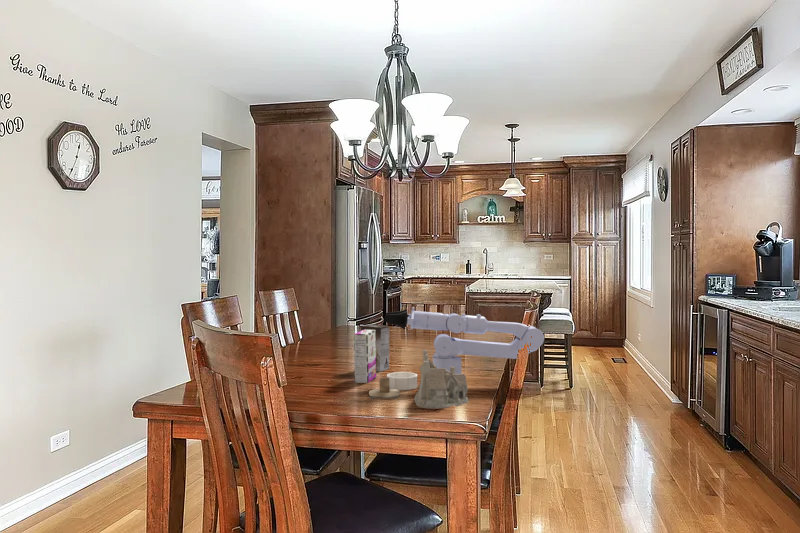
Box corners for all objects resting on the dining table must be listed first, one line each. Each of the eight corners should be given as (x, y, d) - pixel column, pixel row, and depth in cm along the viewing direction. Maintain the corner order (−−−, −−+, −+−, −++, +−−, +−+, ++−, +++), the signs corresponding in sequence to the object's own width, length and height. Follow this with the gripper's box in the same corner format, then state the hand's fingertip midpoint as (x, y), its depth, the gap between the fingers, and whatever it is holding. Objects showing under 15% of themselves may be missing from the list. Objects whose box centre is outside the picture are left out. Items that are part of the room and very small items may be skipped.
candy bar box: (362, 376, 207) (362, 329, 206) (376, 377, 206) (376, 329, 205) (353, 383, 196) (353, 333, 195) (368, 384, 195) (368, 333, 194)
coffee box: (359, 369, 220) (359, 325, 220) (369, 366, 226) (369, 324, 225) (380, 371, 215) (380, 327, 215) (390, 369, 221) (390, 325, 220)
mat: (398, 392, 183) (398, 390, 183) (397, 399, 173) (397, 398, 173) (372, 391, 184) (372, 390, 184) (369, 399, 174) (369, 398, 174)
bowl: (417, 384, 194) (417, 372, 194) (417, 391, 184) (417, 378, 184) (387, 384, 194) (387, 372, 194) (386, 391, 185) (386, 378, 185)
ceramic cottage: (413, 409, 162) (416, 353, 162) (414, 397, 179) (417, 347, 179) (470, 413, 161) (474, 357, 162) (467, 401, 178) (470, 350, 178)
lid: (400, 390, 183) (400, 375, 183) (399, 398, 174) (399, 381, 174) (370, 391, 183) (370, 375, 183) (368, 398, 174) (367, 381, 174)
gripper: (427, 306, 202) (387, 303, 202) (428, 310, 187) (385, 306, 188) (425, 327, 202) (385, 323, 202) (426, 332, 188) (383, 329, 188)
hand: (385, 317), depth 195 cm, fingers open, 7 cm apart
